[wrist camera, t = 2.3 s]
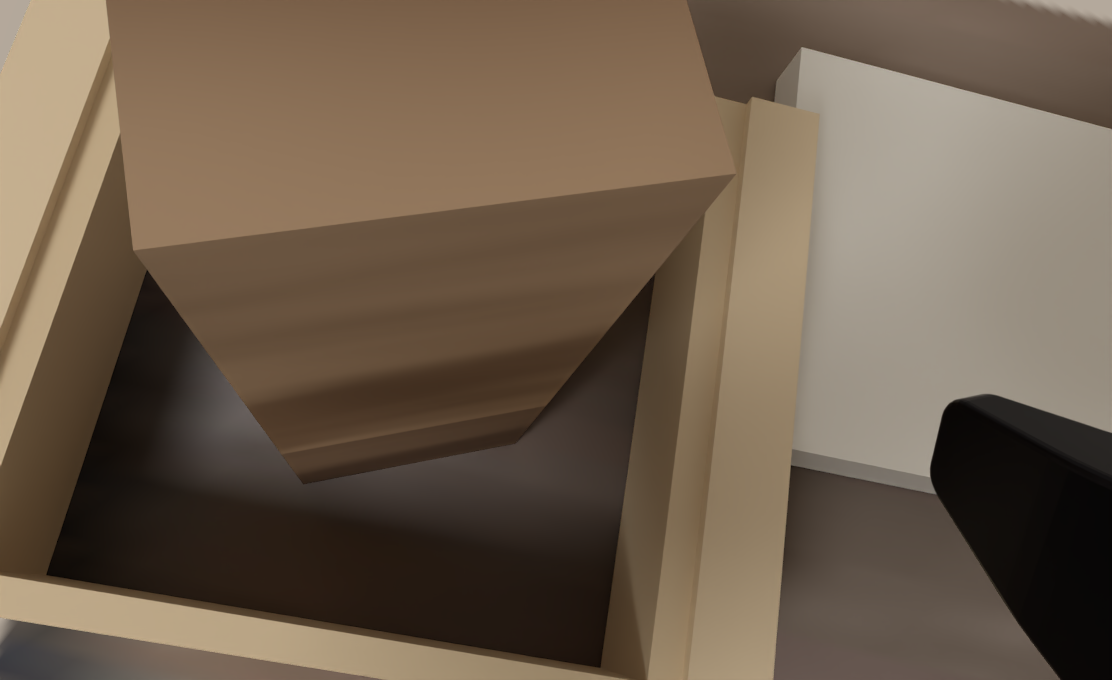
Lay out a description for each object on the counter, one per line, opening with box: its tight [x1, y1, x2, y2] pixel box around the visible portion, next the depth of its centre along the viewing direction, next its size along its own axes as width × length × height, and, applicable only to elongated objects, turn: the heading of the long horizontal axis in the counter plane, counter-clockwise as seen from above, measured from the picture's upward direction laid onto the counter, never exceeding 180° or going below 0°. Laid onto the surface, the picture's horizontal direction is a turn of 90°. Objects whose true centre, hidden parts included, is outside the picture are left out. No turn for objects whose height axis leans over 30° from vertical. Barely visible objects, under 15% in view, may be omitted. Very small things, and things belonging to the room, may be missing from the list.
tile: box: [774, 47, 1112, 495], centre depth 22 cm, size 10×14×2 cm
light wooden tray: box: [0, 0, 820, 680], centre depth 18 cm, size 12×15×4 cm
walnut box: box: [106, 0, 737, 484], centre depth 13 cm, size 4×4×13 cm
